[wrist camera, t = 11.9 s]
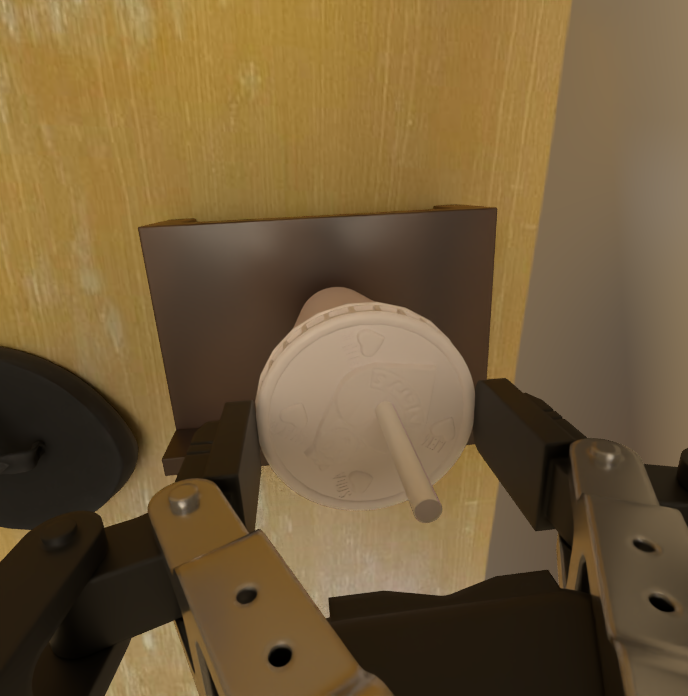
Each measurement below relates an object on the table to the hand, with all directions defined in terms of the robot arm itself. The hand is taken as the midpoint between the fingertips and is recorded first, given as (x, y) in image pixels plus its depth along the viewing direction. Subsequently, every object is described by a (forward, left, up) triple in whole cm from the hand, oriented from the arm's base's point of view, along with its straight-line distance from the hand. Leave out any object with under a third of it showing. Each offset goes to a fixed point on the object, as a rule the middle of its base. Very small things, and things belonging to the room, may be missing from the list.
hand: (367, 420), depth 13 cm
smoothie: (0, 0, -10) cm, 10 cm away
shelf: (0, +1, -18) cm, 18 cm away
